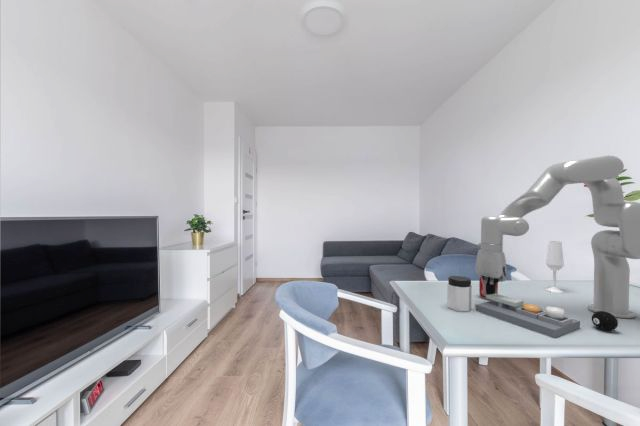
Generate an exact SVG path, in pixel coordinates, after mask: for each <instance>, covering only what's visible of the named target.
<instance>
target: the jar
mask: <svg viewBox="0 0 640 426" xmlns="http://www.w3.org/2000/svg"><path fill="white" fill-rule="evenodd" d="M447 278H448V284H447V294H446V295H447V297H446V298H447V305H446V306H447V308H448V309H450V310H451V309H452V311H456V312H466V313H467V312H470V310H472V279H471V278H469V277H466V276H460V275H451V276H448V277H447Z"/></svg>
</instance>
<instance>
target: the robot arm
mask: <svg viewBox="0 0 640 426" xmlns="http://www.w3.org/2000/svg"><path fill="white" fill-rule="evenodd" d="M624 167H625V166H624V163H623V160H622V159H620V158H619V157H618V156H615V155H604V156H597V157H590V158H584V159H583V158H581V159H574V160H568V161H563V162H558V163H555V164H552V165H550V166H549V167H547V168H546V169H545V170H544V171H543V173H542V174H540V176H539V177H538V178H537V179H536V181H535V182H534V183H533V184H532V185H530V187H529V188H528V189H527V191H525V192H524V193H523V194H521V195H520V196H519V197H518V198H516V199H515V200H513V201H512V202H510V204H508V205H507V206H506V207H505V208H504V209H503V210H502V211H501V213H500V214H498V216H484V217H482V218H481V220H480V221H481V223H480V243H478V244H477V245H478V247H480V249H478V252H477V253H476V254H477V255H476V260H475V261H476V262H475V273H476V274H477V276H478V277H479V278H480V277H481V278H483V280H484V282H485V283H486V293H487V294H495V289H496V284H497V283H498V284H499V282H501V283H502V282H506V277H507V260H506V255H505V252H504V247H503V245H504V236H512V237H520V236H524V235H526V234H527V233H528V232H529V229H530V225H529V224H530V223H529V222H528V221H527V220H526V219H524V218H523V217H524V216H525V217H526V215H528V214H530V213H533V212H534V211H537V210H539V209H541V208H544V207H546V206H548V205H549V204H550V203H552V201H553V200H554V198H555V197H556V196H557V195H558V194H559V193H560V192H561V191H562V190H563V188H564V187H566V186H567V185H574V184H584V185H585V186H586V188H588V189H589V191H590V195H591V201H592V211H593V219H594V221H595V223H596V224H597V225H599V226H602V227H607V228H618V229H619V230H612V229H607V230H605V229H603V230H600V231H598V232H596V233H594V234H593V235H592V237H591V241H590V244H591V251H592V254H593V255H592V256H593V303H591V304H588V305H587V308H588V310H589V311H591V312H593V313H595V312H598V311H605V312H608V313H611V314H612V315H614V316H615V317H616V318H620V319H634V318H635V317H636V314H635V312H634V311H631V310H630V276H631V275H630V274H631V273H630V272H631V270H630V269H631V268H630V263H629V262H628V260H627V259H632V260H640V202H637V201H625V198H624V192H623V191H624V190H623V188H622V187H623V186H622V184H621V183H620V181H619V180H618V179H617V177H619V175H621V174H622V173H623V171H624Z"/></svg>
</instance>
